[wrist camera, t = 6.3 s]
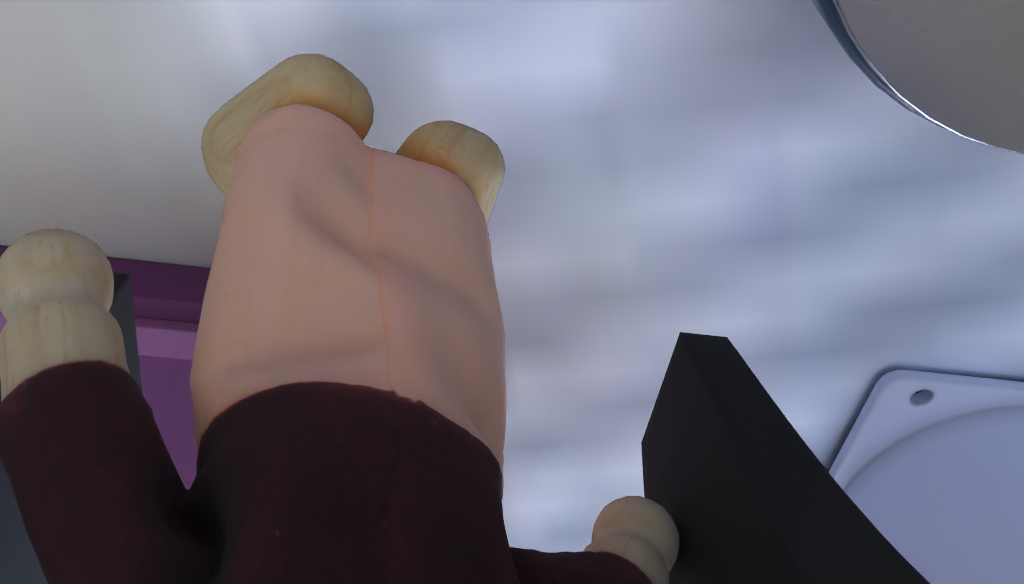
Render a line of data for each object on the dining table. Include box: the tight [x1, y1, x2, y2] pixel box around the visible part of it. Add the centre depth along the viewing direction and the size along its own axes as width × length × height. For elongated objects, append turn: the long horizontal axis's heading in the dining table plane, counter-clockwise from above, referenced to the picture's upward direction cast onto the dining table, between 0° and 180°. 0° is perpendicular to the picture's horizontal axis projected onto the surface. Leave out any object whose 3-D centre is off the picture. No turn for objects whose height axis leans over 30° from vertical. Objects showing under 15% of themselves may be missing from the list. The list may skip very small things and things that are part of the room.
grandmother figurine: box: [0, 54, 680, 584], centre depth 10 cm, size 8×4×13 cm, turn 69°
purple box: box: [0, 246, 211, 489], centre depth 22 cm, size 9×7×2 cm
